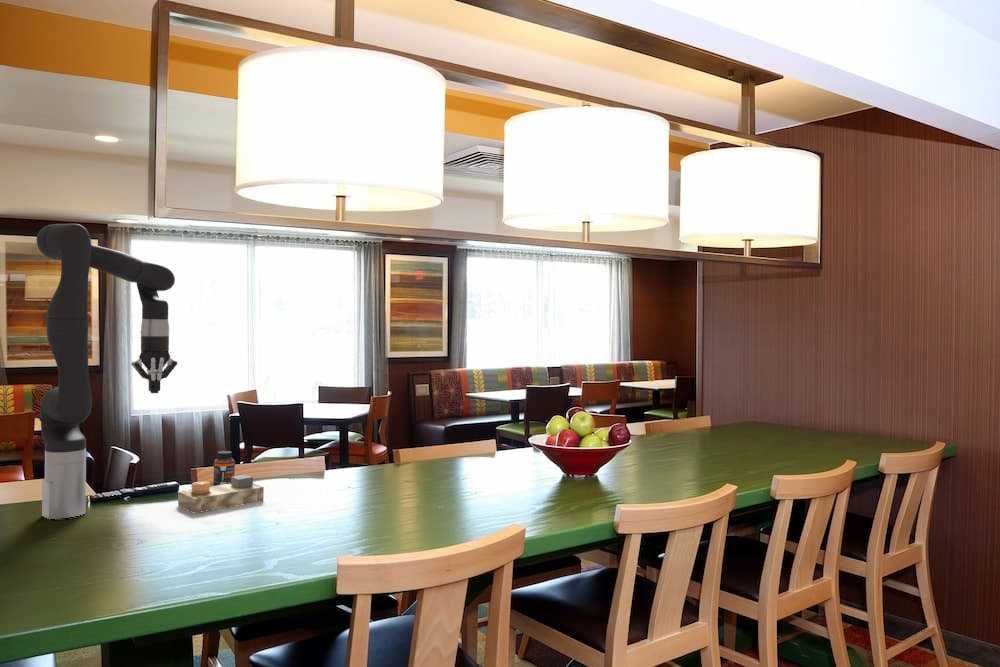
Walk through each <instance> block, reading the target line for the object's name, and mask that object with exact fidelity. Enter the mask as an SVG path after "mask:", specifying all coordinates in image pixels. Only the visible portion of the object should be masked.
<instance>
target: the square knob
mask: <svg viewBox="0 0 1000 667" xmlns="http://www.w3.org/2000/svg"><path fill="white" fill-rule="evenodd" d="M253 483H254V477H253V476H251V475H247V474H240V475H235V476H233V477H231V485H232V486H234V487H235V488H238V489H239V488H245V487H249V486H253Z"/></svg>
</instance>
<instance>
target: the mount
mask: <svg viewBox="0 0 1000 667" xmlns="http://www.w3.org/2000/svg"><path fill="white" fill-rule="evenodd" d="M264 492H265V491H264V486H262V485H259V484H256V483H254V482H253V486H249V487H245V488H239V489H238V488H235V487H234V486H232V485H231V483H230V484H223V485H217V486H214V485H213V486H211V485H210V492H209V493H207V494H203V495H197V496H196V495H195V494H193V493H192V489H188V490H187V489H186V490H180V491H178V493H177V494H178V495H177V496H178V500H177V507H180V508H181V507H182V508H181V509H183V508H185V509H187V510H189V511H188V512H190V511H192V512H200V513H202V512H201V511H206V510H211V511H213V510H212V509H217V510H219V509H218V508H222V509H225V508H224V507H228V508H231V507H230V506H233V507H236V506H235V505H239V506H242V505H241V504H244V505H247V503H249V504H253V503H252V502H255V503H258V502H257V501H260V502H264ZM185 509H184V510H185ZM187 510H186V511H187ZM192 512H191V513H192ZM206 512H207V511H206Z"/></svg>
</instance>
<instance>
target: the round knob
mask: <svg viewBox="0 0 1000 667" xmlns="http://www.w3.org/2000/svg"><path fill="white" fill-rule="evenodd" d="M210 487H211V482H209V481H196V482H193V483H191V490H192V493H193V494H195V495H196V496H197V495H203V494H207V493H209V492H210Z"/></svg>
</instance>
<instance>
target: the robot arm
mask: <svg viewBox="0 0 1000 667" xmlns="http://www.w3.org/2000/svg"><path fill="white" fill-rule="evenodd" d="M36 244H37V248H38V249H39V251H40V252H41V253H42V255H44V256H46V257H47V258H49V259H51V260H57V261H60V263H61V266H60V272H61V274H60V279H59V283H58V286H57V288H56V290H55V291H54V294H52V295H53V296H52V297H51V300H50V302H49V304H48V307H47V310H46V338H47V342H48V345H49V348H50V350H51V353H52V355H53V357H54V360H55V364H56V367H57V372H58V373H57V374H58V386H57V387H53V388H51V389H50V390H48V391H47V392H46V393H45V394H44V395H43V397H42V400H41V404H40V427H41V428H40V429H41V430H40V431H41V438H42V441H43V444H44V478H42V481H41V516H42V517H44V518H45V519H46V518H47V519H46V520H48V519H49V520H48V521H51V520H50V519H55V520H61V519H60V518H69V517H74V518H76V517H75V516H79V517H81V516H83V514H84V515H85V514H86V513H87V512H86V508H87V503H86V500H87V498H86V497H87V496H86V493H87V490H86V488H87V487H86V486H87V439H86V437H85V435H84V434H83V433H82V432H81V430H80V427H79V424H82V423H83V422H84V421H86V420H87V419H88V417H89V416H90V414H91V412H92V409H93V408H92V407H93V400H92V399H93V398H92V390H91V384H90V383H91V380H90V374H89V373H90V372H89V313H88V311H89V310H88V304H89V303H88V301H89V299H88V298H89V274H90V273H89V272H90V268H92V269H94V270H97V271H99V272H103V273H105V274H109V275H111V276H114V277H116V278H119V279H121V280H124V281H126V282H130V283H135V284H136V287H137V288H136V289H137V292H138V294H139V299H140V302H141V303H140V304H141V305H142V306H141V307H142V308H141V315H142V316H141V325H140V354H139V356H138V359H136V361H131V366H132V367H133V368H134V370H135V371H136V372H137V374H139V375H140V377H141V379H145V380H147V381H148V392H150V394H159V392H160V390H161V380H162V379H167V378H168V377H169V375H171V372H172V371H173V370H174V369H175V368H176V366H177V365H178V361H176V360H173V359H172V358H171V355H170V352H169V350H170V325H169V303H168V301H167V300H165V299H161V298H160V296H159V293H158V292H166V291H168V290H170V289H171V288H172V287H173V286H174V285H175V282H176V281H175V280H176V278H175V275H174V273H173V271H171V269H169V268H168V267H166V266H165V265H161V264H157V263H153V262H148V261H145V260H143V259H139V258H138V257H135V256H133V255H131V254H128V253H125V252H123V251H119V250H116V249H112V248H107V247H105V246H99V245H96V244H93V243H92V240H91V235H90V233H89V231H88V230H87V228H86V227H84V226H83V225H81V224H79V223H78V224H77V223H55V224H53V223H52V224H48V225H45V226H44V227H42V228H41V229H40V230H39V231H38V233H37V236H36ZM143 366H144V367H145V368H146V370H145V369H144V368H143ZM165 366H166V367H165ZM164 367H165V368H164ZM80 515H81V516H80ZM69 519H70V518H69Z"/></svg>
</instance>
